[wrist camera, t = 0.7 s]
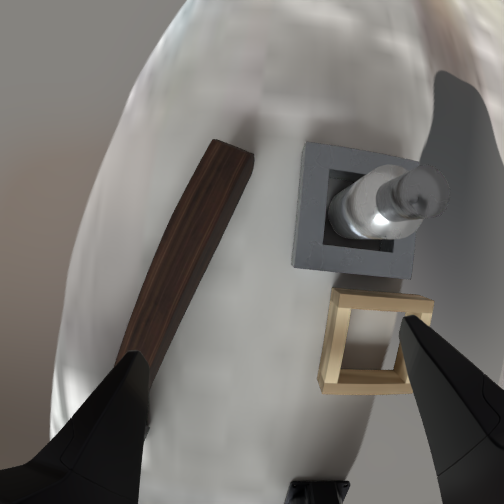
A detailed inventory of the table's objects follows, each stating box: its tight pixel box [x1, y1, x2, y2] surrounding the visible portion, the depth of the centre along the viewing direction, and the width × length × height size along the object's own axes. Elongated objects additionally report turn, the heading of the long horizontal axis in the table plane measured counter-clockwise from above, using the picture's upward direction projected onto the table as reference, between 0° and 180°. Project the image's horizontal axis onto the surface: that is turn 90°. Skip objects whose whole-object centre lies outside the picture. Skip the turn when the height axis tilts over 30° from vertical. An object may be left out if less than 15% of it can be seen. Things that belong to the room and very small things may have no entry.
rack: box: [317, 287, 434, 395], centre depth 23 cm, size 8×8×3 cm
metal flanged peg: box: [328, 165, 450, 239], centre depth 18 cm, size 4×4×13 cm
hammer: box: [114, 139, 254, 441], centre depth 21 cm, size 5×11×30 cm
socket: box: [291, 142, 419, 279], centre depth 23 cm, size 9×9×3 cm
